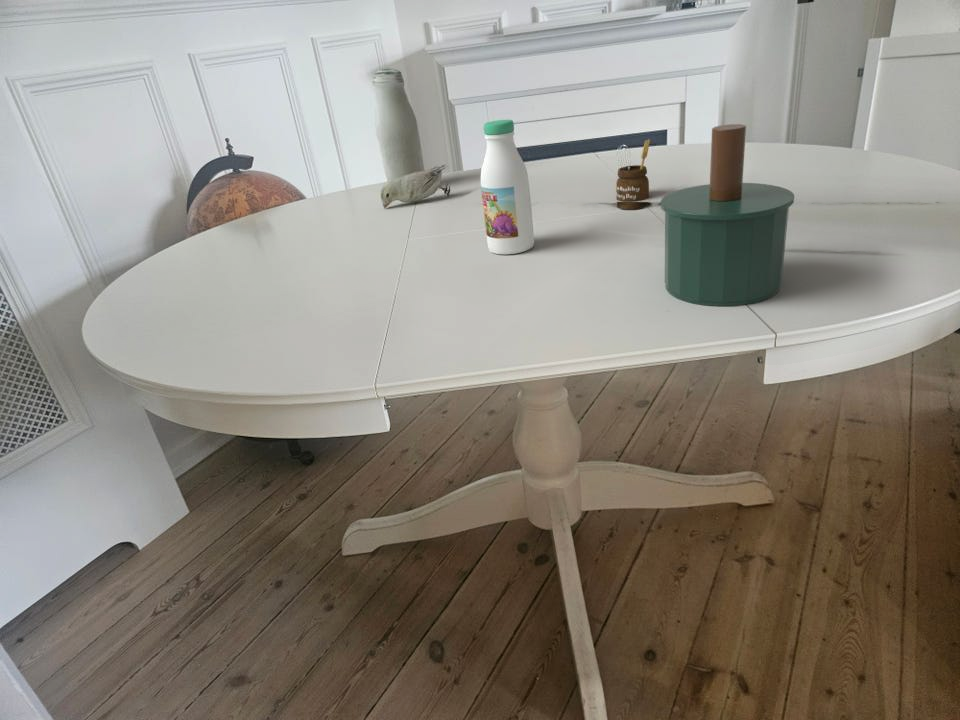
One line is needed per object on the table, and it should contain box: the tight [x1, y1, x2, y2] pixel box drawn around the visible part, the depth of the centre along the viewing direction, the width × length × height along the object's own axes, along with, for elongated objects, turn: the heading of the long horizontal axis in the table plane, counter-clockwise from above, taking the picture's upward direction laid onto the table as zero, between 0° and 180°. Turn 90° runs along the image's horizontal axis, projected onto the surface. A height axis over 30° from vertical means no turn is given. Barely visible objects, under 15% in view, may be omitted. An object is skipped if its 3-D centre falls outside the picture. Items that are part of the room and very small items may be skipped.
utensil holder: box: [615, 138, 651, 211], centre depth 116 cm, size 6×6×12 cm
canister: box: [664, 207, 790, 307], centre depth 77 cm, size 14×14×10 cm
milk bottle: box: [480, 119, 535, 255], centre depth 100 cm, size 8×8×20 cm
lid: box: [660, 123, 795, 220], centre depth 73 cm, size 15×15×9 cm
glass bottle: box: [372, 67, 425, 181], centre depth 153 cm, size 10×10×28 cm
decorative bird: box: [380, 162, 452, 209], centre depth 143 cm, size 5×16×7 cm, turn 105°
